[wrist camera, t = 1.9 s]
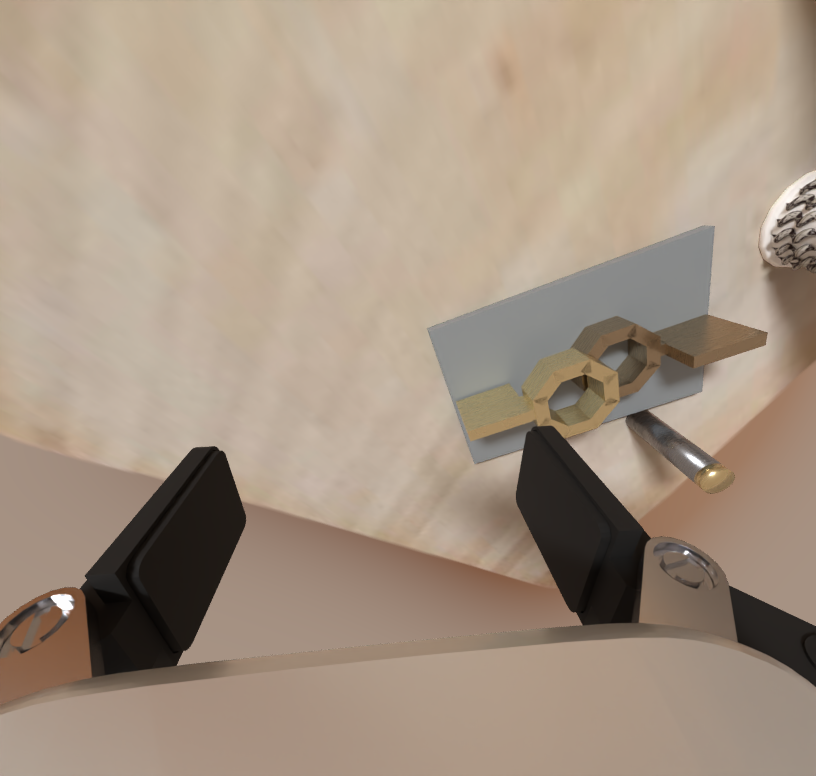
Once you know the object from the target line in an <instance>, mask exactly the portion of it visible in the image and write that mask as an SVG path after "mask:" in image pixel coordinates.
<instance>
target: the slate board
mask: <svg viewBox="0 0 816 776" xmlns="http://www.w3.org/2000/svg"><path fill="white" fill-rule="evenodd" d="M714 227H715V226H701V227H699V228H696V229H693V230H690V231H688V232H685V233H682V234H680V235H677V236H674V237H672V238H669V239H666V240H664V241H661V242H658V243H655V244H653V245H650V246H647V247H645V248H642V249H639V250H637V251H634V252H631V253H629V254H626V255H623V256H621V257H618V258H615V259H612V260H610V261H607V262H604V263H602V264H599V265H596V266H594V267H591V268H588V269H586V270H583V271H580V272H578V273H575V274H572V275H569V276H567V277H564V278H561V279H559V280H556V281H553V282H551V283H548V284H545V285H543V286H540V287H537V288H535V289H532V290H529V291H526V292H524V293H521V294H518V295H516V296H513V297H510V298H508V299H505V300H502V301H500V302H497V303H494V304H491V305H489V306H486V307H483V308H481V309H478V310H475V311H473V312H470V313H467V314H465V315H462V316H459V317H457V318H454V319H451V320H448V321H446V322H443V323H440V324H438V325H435V326H432V327H430V328H427V330H428V332H429V335H430V338H431V341H432V344H433V347H434V350H435V352H436V355H437V358H438V361H439V364H440V367H441V370H442V372H443V375H444V378H445V381H446V384H447V387H448V390H449V392H450V395H451V398H452V401H453V404H454V407H455V409H456V412H457V415H458V418H459V421H460V424H461V427H462V429H463V432H464V435H465V438H466V441H467V444H468V447H469V449H470V452H471V455H472V458H473V461H474V464H476V463H479V462H483V461H486V460H489V459H492V458H495V457H498V456H501V455H505V454H508V453H511V452H514V451H517V450H520V449H523V448H524V443H525V437H526V433H527V432H528V431H531V429H532V428H533V427H534V426H537V425H536V424H535V423H534V421H532V422H529V423H526V424H523V425H519V426H516V427H513V428H510V429H507V430H504V431H501V432H498V433H495V434H492V435H489V436H486V437H483V438H480V439H477V440H474V441H470V439H469V436H468V433H467V431H466V428H465V425H464V423H463V420H462V418H461V415H460V412H459V410H458V407H457V404H456V401H459V400H462V399H465V398H468V397H470V396H473V395H476V394H479V393H482V392H485V391H488V390H491V389H494V388H497V387H500V386H503V385H505V384H508V383H510V385H511V386H512V387H513V389H514V390H515V392H516V393H517V394H518V396H519V397H520V396H523V393H522V388H521V386H522V385H523V383H524V382H525V380H526V379H527V378H528V376H529V375H530V373H531V372H532V370H533V369H534V367H535V366H536V364H537V363H538V361H539V360H540V359H542V358H545V357H548V356H551V355H554V354H557V353H559V352H562V351H565V350H568V349H570V348H571V346H572V345H573V343H574V342H575V341H576V339H577V338H578V336H579V335H580V334H581V332H582V331H583V329H584V328H585V327H586V326H589V325H592V324H595V323H597V322H600V321H603V320H606V319H609V318H612V317H614V316H619V317H622V318H624V319H626V320H629V321H631V322H633V323H636V324H638V325H640V326H641V327H643V328H645V329H647V330H649V331H651V332H655V331H658V330H661V329H664V328H667V327H670V326H673V325H676V324H679V323H682V322H685V321H688V320H690V319H693V318H696V317H699V316H702V315H705V314H707V315H708V307H709V294H710V280H711V267H712V254H713V241H714ZM627 356H628V339H627V340H624V341H621V342H619V343H616V344H613V345H610V346H608V347H607V348H606V350H605V351H604V352H603V354H602V355H601V356H600V358H599V359H598V360H600V361H601V362H603V363H604V364H606V365H607V366H609V367H610V368H612V369H613V370H615V371H616V370H617V368H618V367H619V366H620V365H621V363H622V362H623V361H624V360H625V358H626V357H627ZM703 373H704V365H703V366H700V367H697V368H694V369H693V368H691V367H689V366H687V365H685V364H683V363H681V362H679V361H677V360H675V359H673V358H671V357H669V356H667V355H663V356H661V366H660V367H659V368H658V369H657V370H656V371H655V373H654V374H653V375H652V376H651V377H650V378H649V380H648V381H647V382H646V383H645V384H644V385H643V387H642V388H641V389H640V390H639V391H638V392H635V393H632V394H629V395H626V396H623V397H620V398H619V399H620V402H619V403H618V404H617V405H616V407H615V408H614V409H613V410H612V411H611V413H610V414H609V415H608V416H607V417H606V418H605V420H604V421H603V422H602V423H605V422H608V421H611V420H615V419H618V418H621V417H624V416H627V415H630V414H633V413H637V412H640V411H643V410H646V409H649V408H652V407H655V406H658V405H662V404H665V403H668V402H671V401H674V400H677V399H680V398H684V397H687V396H690V395H693V394H696V393H699V392H702V386H703ZM584 392H585V391H583V390H582V389H581V388H579V387H578V386H577V385H576V384H575V383H574V382H573V381H571V380H567V381H564V382H561V384H560V385H559V386H558V388H557V389H556V391H555V392H554V393H553V395H552V396H551V397H550V399H549V400H548V405H549V408H550V409H552V410H554V411H556V410H559V409H562V408H565V407H568V406H571V405H574V404H576V402H577V401H578V400H579V399H580V397H581V396H582V395H583V394H584ZM602 423H601V424H602Z"/></svg>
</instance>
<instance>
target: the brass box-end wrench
mask: <svg viewBox="0 0 816 776" xmlns="http://www.w3.org/2000/svg"><path fill="white" fill-rule="evenodd" d="M584 374H586V375H587V381H588V388H587V390H586V391H585V392H584V394H583V395H582V396H581V397H580V399H579V400H578V401H577V402H576V404H574V405H571V406H568V407H565V408H562V409H559V410H556V411H554V410H552V409H550V408H549V405H548V400H549V399H550V397H551V396H552V395H553V393H554V392H555V391H556V389H557V388H558V386H559V385H560V384H561V382H564V381H567V380H570V379H573V378H576V377H579V376H582V375H584ZM521 388H522V393H523V396H520V397H519V396H518V394H517V393H516V392H515V390H514V389H513V387H512V386H511V385H510V383H508V384H505V385H503V386H500V387H497V388H494V389H491V390H488V391H485V392H482V393H479V394H476V395H473V396H470V397H468V398H465V399H462V400H459V401H456V404H457V407H458V410H459V412H460V415H461V418H462V420H463V423H464V425H465V428H466V431H467V433H468V436H469V439H470V441H474V440H477V439H480V438H483V437H486V436H489V435H492V434H495V433H498V432H501V431H504V430H507V429H510V428H513V427H516V426H519V425H523V424H526V423H529V422H532V421H534V423H535V424H536V425H537V426H549V425H551V426H553V427H555V428H556V430H557V431H558V432H559V433H560V434H561V435H562V436H563V438H568V437H571V436H574V435H577V434H580V433H583V432H586V431H590V430H593V429H596V428H598V427H599V426H600V424H601V423H602V422H603V421H604V420H605V418H606V417H607V416H608V415H609V414H610V413H611V411H612V410H613V409H614V408H615V407H616V405H617V404H618V403H619V402H620V399H619V383H618V372H616V371H615V370H613V369H612V368H610V367H609V366H607V365H606V364H604V363H603V362H601V361H600V360H598V359H596V358H594V357H591V356H589V355H587V354H585V353H583V352H581V351H579V350H577V349H575V348H571V349H568V350H565V351H562V352H559V353H557V354H554V355H551V356H548V357H545V358H542V359H540V360H539V361H538V363H537V364H536V366H535V367H534V369H533V370H532V372H531V373H530V375H529V376H528V378H527V379H526V380H525V382H524V383H523V385H522V386H521Z"/></svg>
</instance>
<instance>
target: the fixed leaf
mask: <svg viewBox="0 0 816 776" xmlns="http://www.w3.org/2000/svg"><path fill="white" fill-rule="evenodd" d="M767 334H768V333H767V332H764V331H761V330H757V329H754V328H751V327H747V326H744V325H741V324H737V323H734V322H730V321H727V320H724V319H720V318H717V317H714V316H710V315H707V314H705V315H702V316H699V317H696V318H693V319H690V320H688V321H685V322H682V323H679V324H676V325H673V326H670V327H667V328H664V329H661V330H658V331H655V332H651V331H649V330H647V329H645V328H643V327H641V326H640V325H638V324H636V323H633V322H631V321H629V320H626V319H624V318H622V317H619V316H614V317H612V318H609V319H606V320H603V321H600V322H597V323H595V324H592V325H589V326H586V327H585V328H584V329H583V331H582V332H581V334H580V335H579V336H578V338H577V339H576V341H575V342H574V343H573V345H572V346H571V348H575V349H577V350H579V351H581V352H583V353H585V354H587V355H589V356H591V357H594V358H596V359H599V358H600V356H601V355H602V354H603V352H604V351H605V350H606V348H607V347H608V346H610V345H613V344H616V343H619V342H621V341H624V340H627V339H628V356H627V357H626V358H625V360H624V361H623V362H622V363H621V365H620V366H619V367H618V368H617V370H616V372H618V383H619V398H620V397H623V396H626V395H629V394H632V393H635V392H638V391H639V390H640V389H641V388H642V387H643V385H644V384H645V383H646V382H647V381H648V380H649V378H650V377H651V376H652V375H653V374H654V373H655V371H656V370H657V369H658V368H659V367H660V366H661V356H663V355H667V356H669V357H671V358H673V359H675V360H677V361H679V362H681V363H683V364H685V365H687V366H689V367H691V368H693V369H694V368H697V367H700V366H703V365H706V364H709V363H712V362H715V361H718V360H722V359H725V358H728V357H731V356H734V355H737V354H740V353H743V352H746V351H749V350H752V349H755V348H758V347H761V346H764V345H766V339H767ZM571 348H570V349H571ZM570 380H571V381H573V382H574V383H575V384H576V385H577V386H578V387H579V388H581V389H582V390H583V391H586V390H587V388H588V381H587V375H586V374H584V375H582V376H579V377H576V378H573V379H570Z"/></svg>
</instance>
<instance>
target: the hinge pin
mask: <svg viewBox="0 0 816 776" xmlns="http://www.w3.org/2000/svg"><path fill="white" fill-rule="evenodd" d="M626 424H627V425H628V426H629V427H630V428H631V429H632V430H633V431H635V432H636V433H637V434H638V435H639V436H640V437H642V438H643V439H644V440H645V441H646V442H647V443H649V444H650V445H651V446H652V447H653V448H655V449H656V450H657V451H658V452H659V453H660V454H662V455H663V456H664V457H665V458H666V459H667V460H669V461H670V462H671V463H672V464H673V465H674V466H676V467H677V468H678V469H679V470H680V471H681V472H683V473H684V474H685V475H686V476H687V477H688V478H690V479H691V480H692V481H693V482H694V483H695V484H697V485H698V486H699V487H700V488H701V489H703V490H704V491H705V492H706V493H710V494H711V493H718V492H721V491H723V490H725V489H726V488H728V487H729V486H730V485H731V484H732V483H733V481H734V478H735V475H734V473H733V472H731V471H730V470H729V469H727V468H726V467H725V466H723V465H722V464H721V463H719V462H718V461H716V460H715V459H714V458H712V457H711V456H710V455H708V454H707V453H705V452H704V451H703V450H701V449H700V448H699V447H697V446H696V445H695V444H693V443H692V442H690V441H689V440H688V439H686V438H685V437H684V436H682V435H681V434H679V433H678V432H677V431H675V430H674V429H673V428H671V427H670V426H669V425H667V424H666V423H664V422H663V421H662V420H660V419H659V418H658V417H656V416H655V415H654V414H652V413H651V412H649V411H648V410H647V409H646V410H643V411H640V412H637V413H633V414H630V415H628V416H627V418H626Z"/></svg>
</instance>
